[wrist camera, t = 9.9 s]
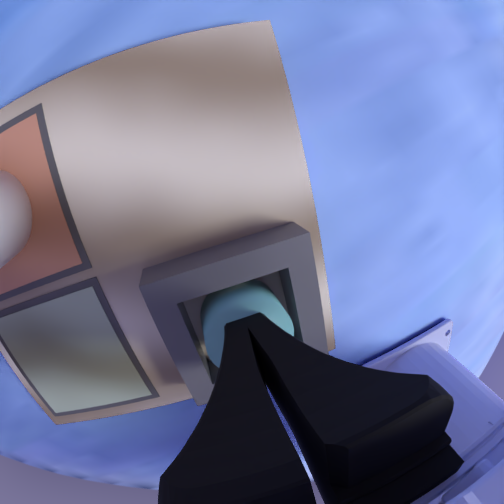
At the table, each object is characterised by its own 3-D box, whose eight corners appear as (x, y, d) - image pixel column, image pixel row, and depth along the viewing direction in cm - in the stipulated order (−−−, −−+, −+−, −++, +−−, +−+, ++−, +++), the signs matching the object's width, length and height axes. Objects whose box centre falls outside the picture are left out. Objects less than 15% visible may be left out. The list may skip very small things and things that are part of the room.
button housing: (315, 340, 14) (329, 360, 13) (194, 381, 13) (197, 405, 12) (293, 221, 12) (309, 232, 10) (142, 268, 11) (138, 286, 10)
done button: (283, 330, 13) (299, 357, 11) (214, 354, 13) (221, 385, 11) (268, 266, 12) (285, 288, 10) (189, 292, 12) (192, 318, 10)
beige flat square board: (327, 337, 16) (336, 349, 15) (59, 412, 13) (55, 426, 12) (262, 28, 10) (270, 19, 9) (-61, 162, 8) (-75, 165, 7)
